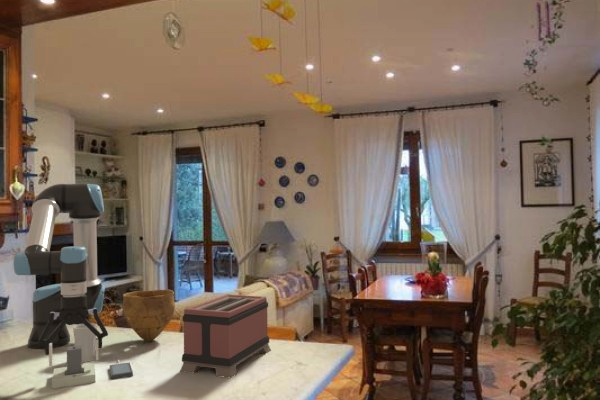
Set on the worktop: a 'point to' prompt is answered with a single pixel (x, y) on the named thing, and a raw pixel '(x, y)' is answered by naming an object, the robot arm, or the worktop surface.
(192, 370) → the toaster
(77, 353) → the block
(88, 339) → the cup
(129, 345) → the worktop surface
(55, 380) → the outlet plate
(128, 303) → the bowl
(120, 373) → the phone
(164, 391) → the worktop surface
